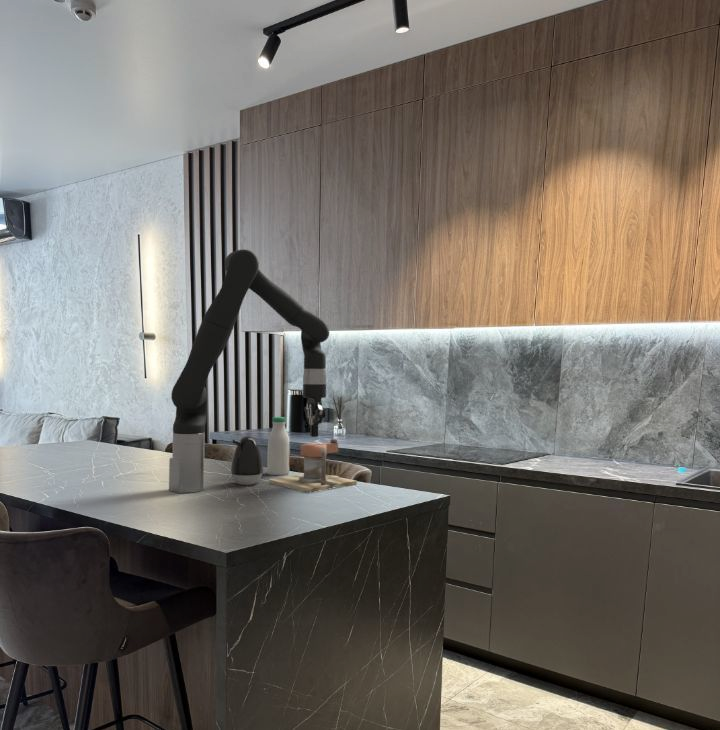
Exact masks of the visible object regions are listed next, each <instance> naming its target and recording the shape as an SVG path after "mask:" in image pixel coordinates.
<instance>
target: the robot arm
mask: <svg viewBox="0 0 720 730" xmlns="http://www.w3.org/2000/svg"><path fill="white" fill-rule="evenodd" d="M224 269H225V272H226V273H225V276H224V278H223V282H222V285H221V288H220V289H219V292H218V293H217V295H216V297H215V298H214V299H213V301H212V302H211V304H210V305H209V307H208V309H207V310H206V312H205V314H204V316H203V318H202V320H201V323H200V325H199V327H198V330H197V333H196V336H195V338H194V340H193V343H192V346H191V350H190V352H189V355H188V358H187V361H186V363H185V364H184V368H183V369H182V371H181V373H180V375H179V377H178V378H177V380H176V381H175V384H174V386H172V390H171V394H170V395H171V401H172V404H173V406H175V419H174V422H173V424H172V453H171V454H172V457H170V458H169V465H168V467H169V469H168V471H169V473H168V490H169V491H171V492H174V493H177V494H182V493H184V494H185V493H196V492H201V491H203V490H204V489H205V488H204V484H205V481H204V480H205V437H206V436H205V434H206V433H205V432H206V423H207V418H208V417H207V413H208V393H207V392H208V391H207V388H206V383H207V380H208V377H209V375H210V372H211V370H212V368H213V366H214V365H215V364H216V362H217V361H218V359H219V358H220V356H221V354H222V353H223V351H224V350H225V348H226V345H227V344H228V342H229V339H230V338H231V334H232V332H233V330H234V327H235V324H236V322H237V319H238V317H239V314H240V310H241V307H242V304H243V301H244V299H245V296H246V295H247V292H248V291H249V290H251V291H252V292H253V293H255V295H257V296H258V297H260V298H261V299H262V300H263V301H264V302H265V303H266V304H267V305H268V306H269V307H270V308H272V309H273V310H274V312H275V313H277V314H278V315H279V316H280V317H281V318H282V319H284V320H285V321H286V323H288V324H289V325H290V326H292V327H297V328H299V329H300V330H301V333H300V341H301V349H302V352H303V374H302V398H305V399H307V402H306V406H304V408H303V410H304V414H305V417H306V421H307V423H308V424H309V427H310V429H309V436H310V437H311V438H317V437H318V436H319V425H320V424H322V422H323V418H324V415H325V412H326V409H325V408H323V403H322V399H324V398H326V397H327V372H326V368H327V367H326V362H327V361H326V358H327V357H326V353H325V352H324V351H323V350H322V346H321V345H322V344H321V343H323V342H325V341H327V340H328V339H329V337H330V329H329V326H328V324H326V322H325V321H324V320H323V319H322V318H321V317H318V316H317V315H316V314H314V313H312V312H311V311H309V310H308V309H306V308H305V307H304V306H303V305H302V304H301V303H300V302H299V301H298V300H297V299H296V298H295V297H293V296H292V295H291V294H290V293H288V292H287V291H285V290H284V289H283V288H282V287H281V286H278V284H276V283H275V282H273V281H272V280H271V279H270V278H268V277H267V276H266V275H265V274H264V273H263V272H262V271H261V269H260V262H259V259H258V256H257V254H255V253H254V251H251V250H249V249H236V250H233V251H232V252H231V253H229V254H227V256H226V258H225V259H224Z"/></svg>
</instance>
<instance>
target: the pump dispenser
mask: <svg viewBox="0 0 720 730" xmlns="http://www.w3.org/2000/svg"><path fill="white" fill-rule="evenodd" d="M231 443H233V444H235V446H236V447H235V450H234V452H233V456H232V459H231V465H230V474H231V477H232V479H233V481H234V482H235V483H236V484H238V485H240V486H253V485H255V484H257V483H258V482H259V481H260V480H261V478H262V475H263V473H264V466H263V463H264V462H263V458H262V454H261V450H260V448H259V445H258V443H257V441H256V439H255V438H254V437H252V436H243V437H241V439H240V440H236V439H232V441H231Z"/></svg>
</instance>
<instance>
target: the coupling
mask: <svg viewBox="0 0 720 730" xmlns="http://www.w3.org/2000/svg"><path fill="white" fill-rule="evenodd" d="M322 448H326V456H327V455H328V454H332V453H333V454H334V453H339V443H338V439H337V438H332V439H330V442H324V443H302V444H300V451H299V452H300V456H302V457H304V456H306V457H322Z"/></svg>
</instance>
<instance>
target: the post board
mask: <svg viewBox="0 0 720 730" xmlns="http://www.w3.org/2000/svg"><path fill="white" fill-rule="evenodd" d="M326 470H327V455H326V448H322V457H306V456H303V474H299V475H289V476H284V477H277V478H270V479H268V483H269V484H271V485H276V486H279V487H283V488H288V489H291V490H292V489H293V490H297V491H301V492H305V491H306V493H309V492H311V493H315V492H314V491H317V492H320V491H319V490H323V491H325V490H324V489H328V490H330V489H329V488H333V487H340V486H345V487H350V486H349V485H351V486H355V485H354V484H358V480H354V479H350V478H344V477H341V476H338V475H329V474H326V473H327V472H326ZM340 488H341V487H340Z"/></svg>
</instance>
